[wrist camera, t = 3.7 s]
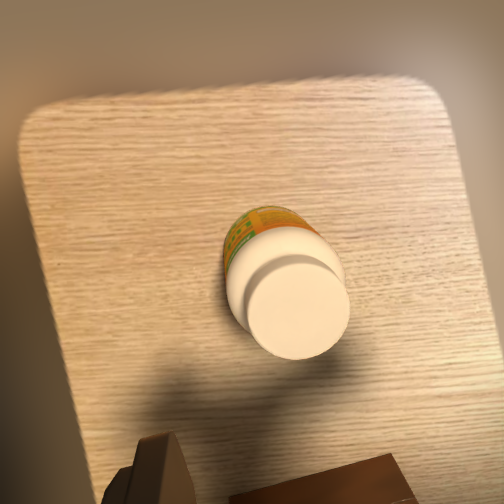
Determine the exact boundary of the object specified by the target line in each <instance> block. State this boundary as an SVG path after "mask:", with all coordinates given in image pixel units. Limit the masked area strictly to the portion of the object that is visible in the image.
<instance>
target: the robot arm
mask: <svg viewBox="0 0 504 504" xmlns="http://www.w3.org/2000/svg"><path fill="white" fill-rule="evenodd" d="M101 504H197V503H196V495H195V490H194V485H193V482H192V479H191V476H190V473H189V470H188V468H187V465H186V462H185V459H184V456H183V454H182V451H181V448H180V445H179V442H178V439H177V437H176V435H175V433H174V432H173V431H172V430H171V431H168V432H164V433H160V434H156V435H153V436H149V437H145V438H142V439H140V440H139V442H138V445H137V449H136V453H135V457H134V461H133V465H132V466H129V467H125V468H121V469H120V470H119V471H118V473H117V474H116V475H115V477H114V478H113V480H112V481H111V483H110V484H109V485H108V487H107V488H106V490H105V492H104V496H103V499H102V502H101Z"/></svg>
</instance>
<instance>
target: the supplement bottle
mask: <svg viewBox="0 0 504 504" xmlns="http://www.w3.org/2000/svg"><path fill="white" fill-rule="evenodd" d="M224 266H225V281H226V293H227V298H228V303H229V306H230V309H231V311H232V313H233V315H234V316H235V318H236V320H237V321H238V322H239V324H240V325H241V326H242V327H243V328H244V329H245V330H247V331H248V332H249V333H251V334H252V335H253V337H254V339H255V340H256V341H257V343H258V344H259V345H260V346H261V347H262V348H263V349H265V350H266V351H267V352H269V353H271V354H273V355H275V356H277V357H280V358H284V359H290V360H301V359H307V358H311V357H314V356H317V355H320V354H322V353H323V352H325V351H327V350H328V349H329V348H331V347H332V346H333V345H334V344H335V343H336V342H337V341H338V340H339V339H340V337H341V336H342V334H343V333H344V331H345V329H346V327H347V324H348V321H349V317H350V300H349V296H348V293H347V290H346V276H345V271H344V267H343V265H342V262H341V260H340V258H339V256H338V254H337V253H336V251H335V250H334V249H333V248H332V246H331V245H330V244H329V243H328V242H327V241H326V240H325V239H324V238H323V237H322V236H321V235H320V234H318V233H317V232H316V231H315V230H314V229H313V228H312V227H311V226H310V225H309V224H308V223H307V222H306V221H305V220H304V219H303V218H301V217H300V216H299V215H298V214H296V213H295V212H293V211H291V210H289V209H287V208H284V207H280V206H273V205H268V206H261V207H257V208H254V209H251V210H249V211H247V212H246V213H244V214H243V215H241V216H240V217H239V218H238V219H237V220H236V221H235V222H234V223H233V225H232V226H231V228H230V230H229V231H228V234H227V236H226V240H225V244H224Z"/></svg>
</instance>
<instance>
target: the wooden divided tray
mask: <svg viewBox="0 0 504 504" xmlns="http://www.w3.org/2000/svg"><path fill="white" fill-rule="evenodd" d="M229 504H419V503H418V501H417V499H416V498H415V495H414V494H413V492H412V490H411V488H410V486H409V485H408V483H407V481H406V479H405V477H404V476H403V474H402V472H401V470H400V468H399V467H398V465H397V463H396V461H395V459H394V458H393V456H392V454H387V455H384V456H380V457H376V458H372V459H369V460H365V461H361V462H358V463H354V464H350V465H347V466H343V467H339V468H336V469H332V470H328V471H325V472H321V473H317V474H314V475H310V476H306V477H303V478H299V479H295V480H291V481H288V482H284V483H280V484H277V485H273V486H269V487H266V488H262V489H258V490H255V491H251V492H247V493H244V494H240V495H236V496H233V497H229Z"/></svg>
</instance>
